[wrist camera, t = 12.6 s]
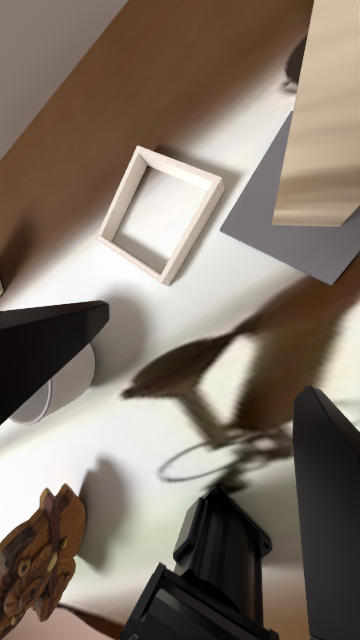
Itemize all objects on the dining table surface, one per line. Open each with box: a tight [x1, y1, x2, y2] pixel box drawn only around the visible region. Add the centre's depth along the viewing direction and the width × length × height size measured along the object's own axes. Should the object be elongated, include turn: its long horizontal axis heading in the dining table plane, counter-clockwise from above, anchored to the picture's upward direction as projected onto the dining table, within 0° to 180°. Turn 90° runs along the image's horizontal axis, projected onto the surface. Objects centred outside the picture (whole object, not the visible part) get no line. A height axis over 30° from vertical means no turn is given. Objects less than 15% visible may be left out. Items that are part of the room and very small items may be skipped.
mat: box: [220, 111, 360, 285], centre depth 15 cm, size 11×11×1 cm
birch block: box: [272, 0, 360, 227], centre depth 9 cm, size 5×5×13 cm
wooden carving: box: [0, 483, 86, 640], centre depth 22 cm, size 16×5×10 cm, turn 178°
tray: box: [96, 146, 225, 286], centre depth 20 cm, size 11×11×2 cm
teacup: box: [9, 343, 95, 426], centre depth 23 cm, size 14×11×8 cm
